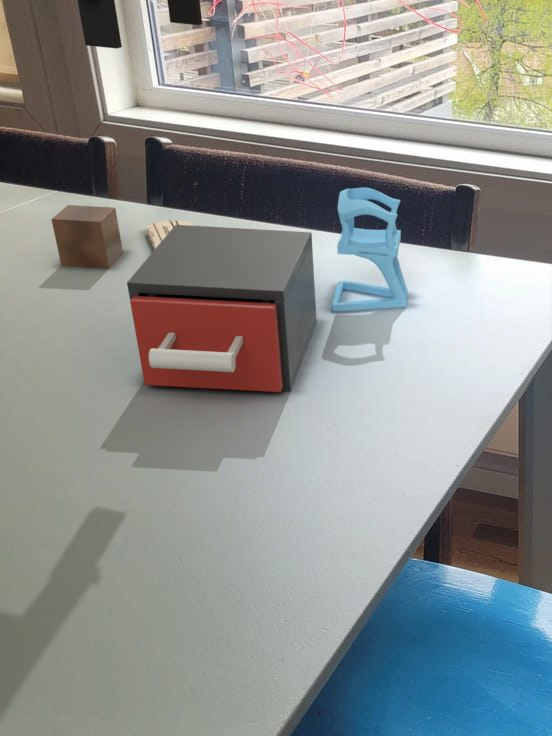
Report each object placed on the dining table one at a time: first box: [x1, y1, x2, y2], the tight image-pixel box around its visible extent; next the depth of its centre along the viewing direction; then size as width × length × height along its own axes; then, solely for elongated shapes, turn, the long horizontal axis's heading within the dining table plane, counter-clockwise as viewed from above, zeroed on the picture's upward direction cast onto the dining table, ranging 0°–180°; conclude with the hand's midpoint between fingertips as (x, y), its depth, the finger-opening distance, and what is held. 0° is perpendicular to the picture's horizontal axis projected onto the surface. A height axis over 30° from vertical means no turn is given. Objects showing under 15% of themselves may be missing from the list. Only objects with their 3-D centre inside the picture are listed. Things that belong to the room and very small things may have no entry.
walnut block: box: [50, 204, 124, 270], centre depth 117 cm, size 6×6×6 cm
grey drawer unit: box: [126, 225, 317, 392], centre depth 97 cm, size 17×14×10 cm
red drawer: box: [129, 294, 283, 393], centre depth 93 cm, size 21×13×8 cm, turn 179°
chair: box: [331, 187, 409, 312], centre depth 109 cm, size 8×8×12 cm
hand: (147, 34), depth 82 cm, fingers open, 13 cm apart
